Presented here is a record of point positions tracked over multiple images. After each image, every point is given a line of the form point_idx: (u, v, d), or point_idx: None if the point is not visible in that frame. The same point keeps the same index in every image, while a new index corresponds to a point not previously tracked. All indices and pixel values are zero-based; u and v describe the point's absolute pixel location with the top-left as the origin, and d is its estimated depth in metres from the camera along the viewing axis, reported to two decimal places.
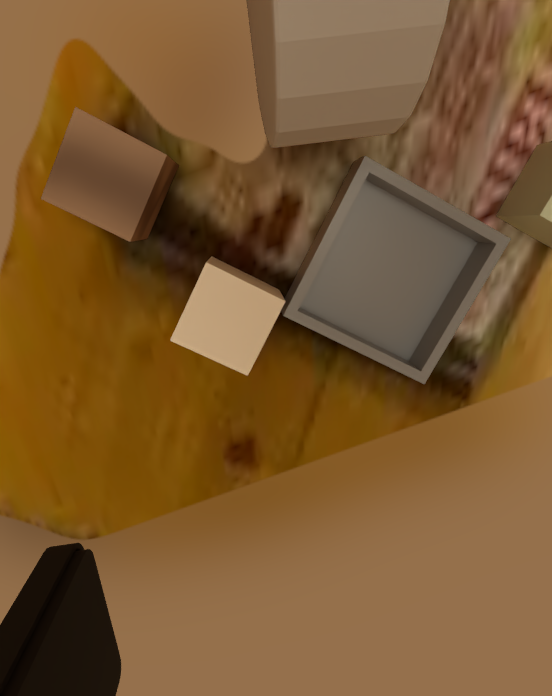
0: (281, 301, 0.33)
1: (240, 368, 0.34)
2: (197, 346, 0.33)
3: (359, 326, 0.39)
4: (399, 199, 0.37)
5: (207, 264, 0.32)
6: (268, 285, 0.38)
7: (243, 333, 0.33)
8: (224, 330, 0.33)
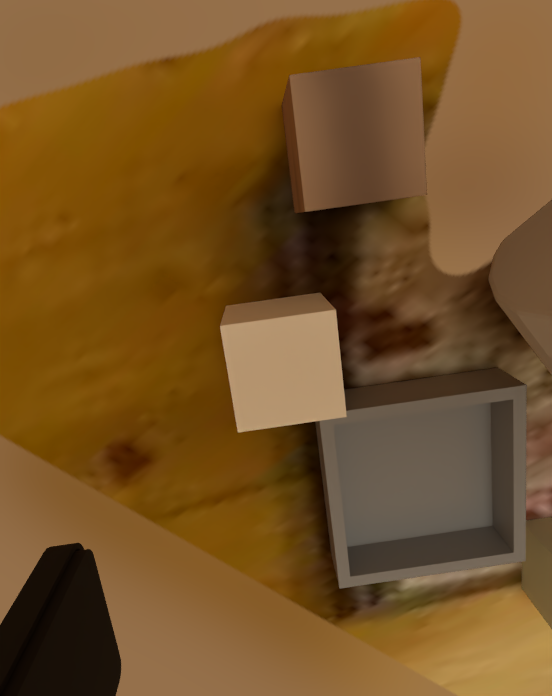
0: (343, 412, 0.26)
1: (240, 419, 0.26)
2: (234, 360, 0.25)
3: (345, 481, 0.33)
4: (490, 433, 0.33)
5: (334, 312, 0.25)
6: None
7: (282, 398, 0.26)
8: (272, 377, 0.25)
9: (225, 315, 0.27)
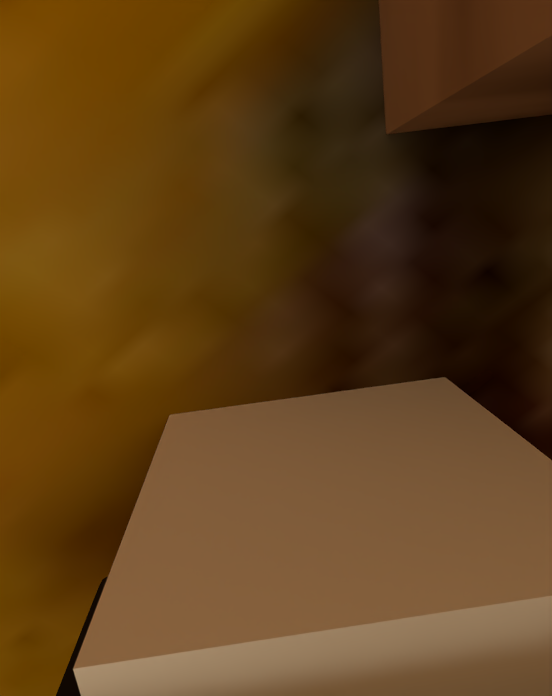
0: None
1: None
2: None
3: None
4: None
5: None
6: None
7: None
8: None
9: (145, 503, 0.07)
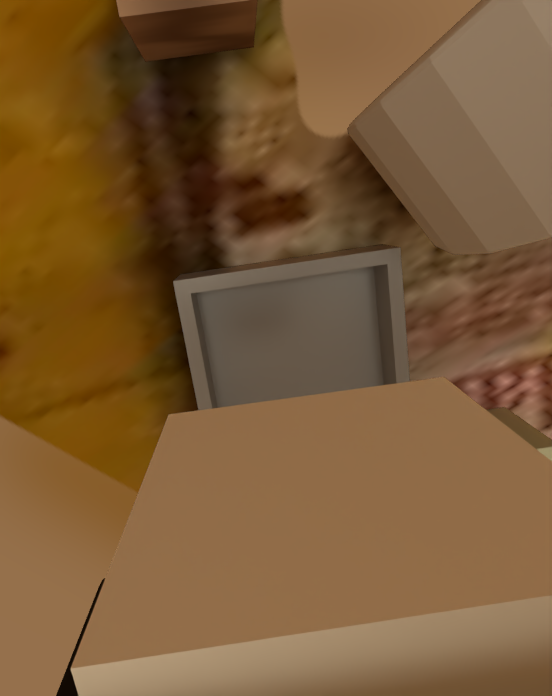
0: None
1: None
2: None
3: (222, 373, 0.30)
4: (376, 317, 0.30)
5: None
6: None
7: None
8: None
9: (143, 503, 0.07)
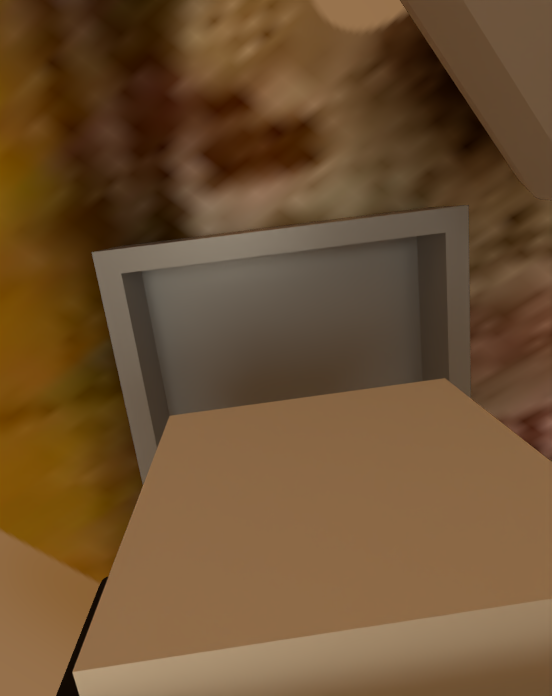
0: None
1: None
2: None
3: (183, 398, 0.20)
4: (418, 319, 0.20)
5: None
6: None
7: None
8: None
9: (144, 505, 0.07)
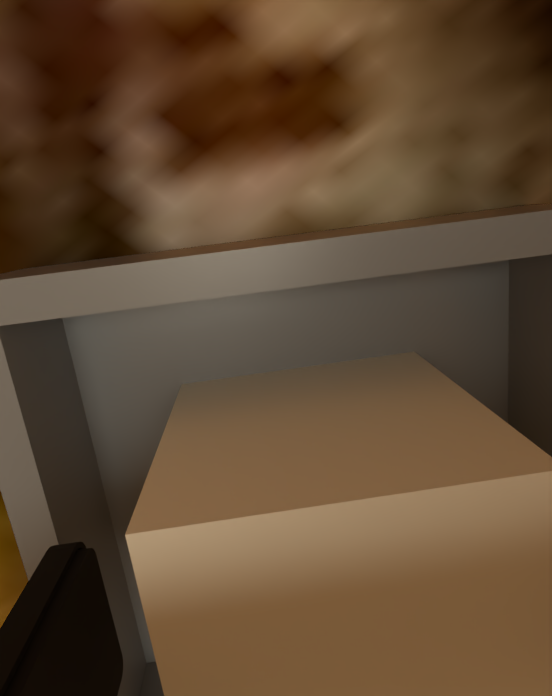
0: None
1: None
2: (183, 645, 0.07)
3: None
4: (505, 381, 0.13)
5: None
6: None
7: None
8: (321, 689, 0.07)
9: (166, 443, 0.09)
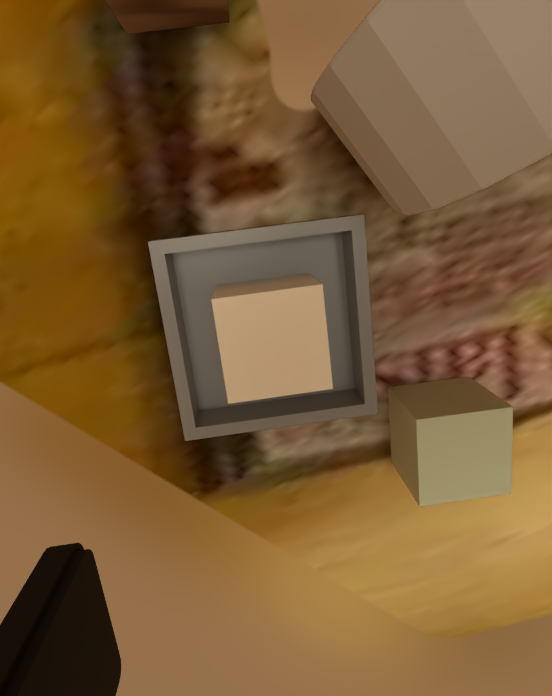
0: (330, 384, 0.27)
1: (231, 391, 0.27)
2: (224, 333, 0.26)
3: (197, 336, 0.32)
4: (345, 285, 0.32)
5: (321, 286, 0.26)
6: None
7: (271, 370, 0.27)
8: (262, 349, 0.26)
9: (216, 291, 0.28)
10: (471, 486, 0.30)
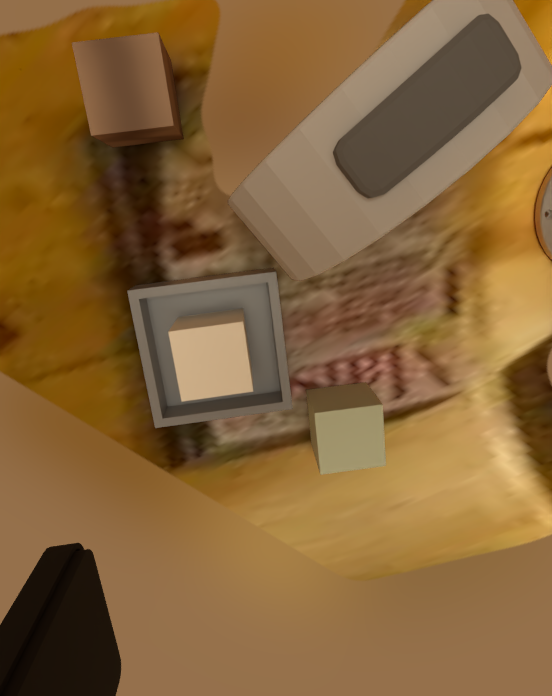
0: (251, 388, 0.40)
1: (183, 393, 0.39)
2: (177, 354, 0.39)
3: (165, 353, 0.45)
4: (270, 317, 0.44)
5: (242, 323, 0.38)
6: (250, 362, 0.44)
7: (210, 378, 0.39)
8: (203, 365, 0.39)
9: (174, 324, 0.41)
10: (356, 460, 0.43)
